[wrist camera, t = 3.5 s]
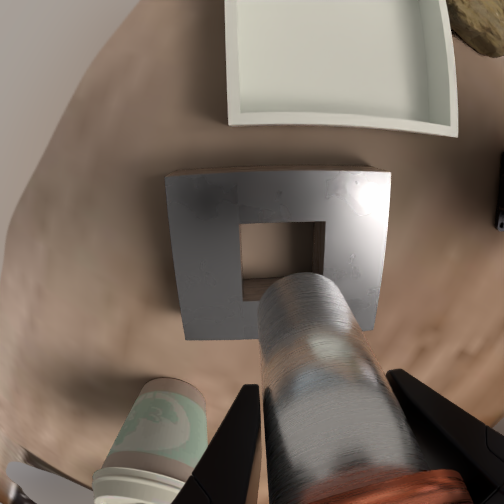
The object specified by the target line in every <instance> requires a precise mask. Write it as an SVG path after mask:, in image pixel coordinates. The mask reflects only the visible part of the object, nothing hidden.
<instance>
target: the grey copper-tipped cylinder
mask: <svg viewBox="0 0 504 504" xmlns="http://www.w3.org/2000/svg"><path fill="white" fill-rule="evenodd" d="M257 320H258V335H259V350H260V366H261V381H262V397H263V412H264V428H265V443H266V459H267V474H268V490H269V504H474V503H473V501H472V498H471V496H470V494H469V492H468V490H467V488H466V485H465V483H464V481H463V479H462V477H461V475H460V473H458V472H457V471H455V470H450V469H440V470H431V471H430V469H429V467H428V465H427V462H426V460H425V458H424V456H423V453H422V451H421V449H420V447H419V444H418V442H417V440H416V438H415V436H414V434H413V431H412V429H411V427H410V425H409V423H408V421H407V419H406V417H405V414H404V412H403V410H402V408H401V406H400V404H399V402H398V400H397V398H396V396H395V394H394V392H393V390H392V388H391V386H390V384H389V382H388V380H387V378H386V376H385V374H384V372H383V370H382V368H381V366H380V364H379V362H378V360H377V358H376V356H375V354H374V352H373V351H372V349H371V347H370V345H369V343H368V341H367V339H366V337H365V335H364V333H363V332H362V330H361V328H360V326H359V324H358V322H357V320H356V319H355V317H354V315H353V313H352V311H351V309H350V308H349V306H348V304H347V302H346V300H345V299H344V297H343V295H342V293H341V291H340V290H339V288H338V287H337V286H336V285H335V283H333V282H332V281H331V280H330V279H328V278H326V277H324V276H322V275H319V274H316V273H307V272H303V273H295V274H291V275H288V276H285V277H283V278H281V279H279V280H278V281H276V282H275V283H273V284H272V285H271V286H270V287H269V288H268V289H267V290H266V291H265V293H264V294H263V296H262V298H261V299H260V302H259V305H258V310H257Z"/></svg>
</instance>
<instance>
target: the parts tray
mask: <svg viewBox="0 0 504 504" xmlns="http://www.w3.org/2000/svg"><path fill="white" fill-rule="evenodd" d="M225 38H226V73H227V102H228V125H229V126H230V127H241V126H334V127H354V128H369V129H381V130H392V131H402V132H411V133H419V134H427V135H436V136H447V137H457V138H458V98H457V81H456V68H455V58H454V49H453V41H452V34H451V27H450V21H449V15H448V10H447V5H446V0H225Z"/></svg>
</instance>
